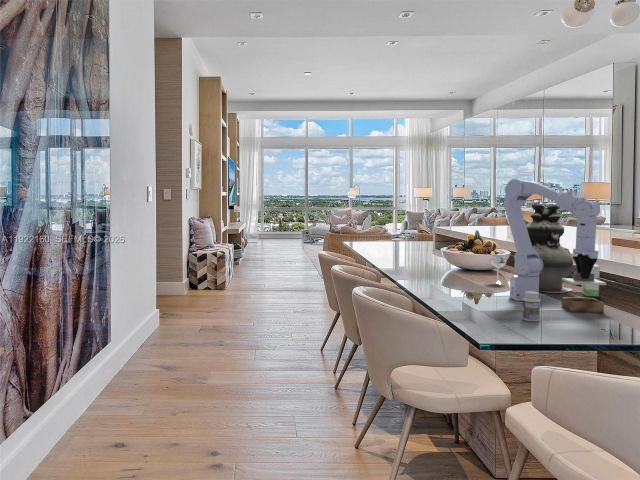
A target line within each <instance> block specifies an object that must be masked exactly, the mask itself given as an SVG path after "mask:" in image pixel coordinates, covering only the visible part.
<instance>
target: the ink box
mask: <svg viewBox="0 0 640 480" xmlns="http://www.w3.org/2000/svg"><path fill="white" fill-rule="evenodd" d="M600 268H601V267H600V266H599V265H598V264H596V263H595V264H594V266H593V268H592V271H591V273H594V279H596V280H599V281H600V273H601V272H600ZM580 293H581V294H583V295H584V296H585V297H599V296H600V285H581V290H580Z"/></svg>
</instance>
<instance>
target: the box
mask: <svg viewBox="0 0 640 480" xmlns="http://www.w3.org/2000/svg"><path fill="white" fill-rule="evenodd" d="M561 308H562V309H564V310H566V311H569V312H571V313H586V312H589V314H591V313H592V314H596V313H597V314H604V313H605V312H604V310H605V302H604V301H601V300H599V299H597V298H594V297H571V296H570V297H569V296H568V297H567V296H566V297H565V296H562V297H561Z"/></svg>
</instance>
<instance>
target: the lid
mask: <svg viewBox="0 0 640 480" xmlns="http://www.w3.org/2000/svg"><path fill="white" fill-rule="evenodd" d="M572 273H573V274H572V275H573V276H572V278H571V277H566V278H562V281H563V282H565V283H567V284H569V285H574V286H575V285H578V286H580V285H581V286H582V285H599V286H607V282H605V281H602V280H600V279H599V280H596V279H594V273H591V274H590V277H589V279H584V278H582V277H581V273H578V272H575V271H574V272H572Z"/></svg>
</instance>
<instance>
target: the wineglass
mask: <svg viewBox="0 0 640 480" xmlns="http://www.w3.org/2000/svg"><path fill="white" fill-rule="evenodd" d="M490 257H491V258H490V263H491V265H492V266H493V267H495V268H496V269H497V270H496V278H497V279H496V281H491V283H492V284H499V285H501V284H504V282H502V281H499V274H500V269H501V268H503V267H504V266H505V265H507V261H508V260H507V255H501V254H500V255H499V254H495V255H494V254H493V255H490Z"/></svg>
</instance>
